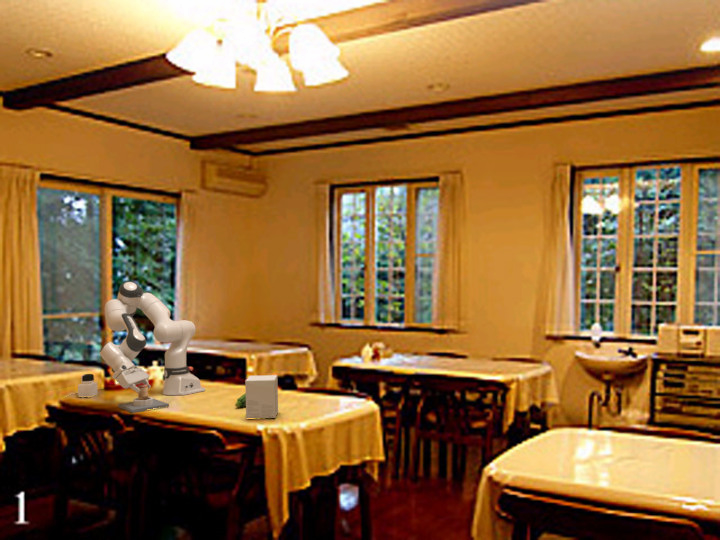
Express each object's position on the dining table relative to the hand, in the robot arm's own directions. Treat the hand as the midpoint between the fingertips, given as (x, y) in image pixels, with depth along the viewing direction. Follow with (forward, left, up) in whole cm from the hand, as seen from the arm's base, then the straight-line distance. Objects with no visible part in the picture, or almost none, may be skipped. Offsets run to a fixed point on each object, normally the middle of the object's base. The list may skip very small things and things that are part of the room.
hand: (144, 389), depth 310 cm
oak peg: (0, -1, -7) cm, 7 cm away
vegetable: (-39, +32, -9) cm, 51 cm away
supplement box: (-31, +57, -9) cm, 66 cm away
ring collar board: (0, -1, -8) cm, 8 cm away
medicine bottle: (+11, -47, -9) cm, 49 cm away
